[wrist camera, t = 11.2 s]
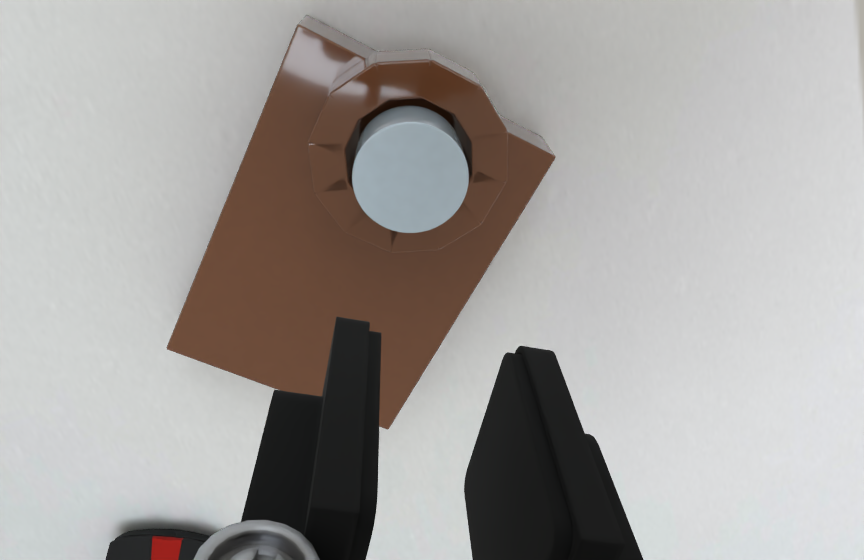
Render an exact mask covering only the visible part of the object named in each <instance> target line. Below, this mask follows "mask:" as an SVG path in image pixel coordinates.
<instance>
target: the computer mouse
mask: <svg viewBox="0 0 864 560" xmlns="http://www.w3.org/2000/svg"><path fill="white" fill-rule="evenodd" d="M210 537H211V536H207V535H202V534H198V533H194V532H188V531H182V530H173V529H148V530H136V531H129V532H127V533H124V534H122V535H120V536H119V537H117V538H116V539H115V540H114V541H112V542H111V543H110V545H109V549H108V553H107V556H106V560H194V558H195V556H196V554H197V552H198V549H199V548H200V547H201V546H202V545H203V544H204V543H205V542H206V541H207V540H208V539H209V538H210Z"/></svg>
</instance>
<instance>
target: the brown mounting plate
mask: <svg viewBox="0 0 864 560" xmlns="http://www.w3.org/2000/svg"><path fill="white" fill-rule="evenodd" d="M398 106H420V107H424V108H427V109H430V110H432V111H434V112H436V113H438V114H439V115H441V116H442V117H443V118H445V119H446V120H447V121H448V122H449V123H450V124H451V125H452V127H453V128H454V129H455V131H456V133H457V135H458V136H459V139H460V142H461V145H462V148H463V151H464V154H465V158H466V161H467V165H468V171H469V184H468V189H467V193H466V196H465V198H464V200H463V202H462V204H461V206H460V207H459V209H458V210H457V211H456V213H455V214H454V215H453V216H452V217H451V218H450V219H448V220H447V221H446V222H444V223H443V224H441V225H439V226H438V227H436V228H433V229H431V230H428V231H424V232H418V233H403V232H397V231H393V230H390V229H387V228H385V227H383V226H381V225H379V224H378V223H376V222H375V221H373V220H372V219H371V218H370V217H369V216H368V215H367V214H366V213H365V212H364V211H363V209H362V208H361V206H360V205H359V203H358V201H357V199H356V197H355V194H354V190H353V185H352V170H353V163H354V157H355V150H356V146H357V142H358V139H359V137H360V135H361V133H362V131H363V130H364V128H365V127H366V126H367V124H368V123H369V122H370V121H371V120H372V119H373V118H375V117H376V116H377V115H379V114H380V113H382V112H384V111H386V110H389V109H391V108H395V107H398ZM554 159H555V155H554V154H553V152H552V151H551V149H550V148H549V146H548V145H547V143H546V142H545V140H544V139H543V138H542V137H541V136H539V135H537V134H535V133H533V132H531V131H530V130H528V129H526V128H524V127H522V126H520V125H518V124H516V123H514V122H512V121H510V120H508V119H507V118H505V117H503V116H501V115H499V113H498V112H497V110H496V108H495V107H494V105H493V103H492V102H491V100H490V98H489V97H488V95H487V93H486V92H485V90H484V88H483V87H482V85H481V83H480V81H479V80H478V78H477V76H476V75H475V74H474V73H473V72H472V71H470V70H468V69H466V68H464V67H462V66H461V65H459V64H457V63H455V62H453V61H451V60H449V59H447V58H446V57H444V56H442V55H440V54H438V53H436V52H434V51H432V50H431V49H429V50H428V49H413V50H395V51H379V52H378V51H376V50H374V49H372V48H370V47H368V46H366V45H364V44H362V43H360V42H358V41H357V40H355V39H353V38H351V37H349V36H347V35H345V34H343V33H341V32H339V31H337V30H335V29H333V28H332V27H330V26H328V25H326V24H324V23H322V22H320V21H318V20H316V19H314V18H312V17H310V16H308V15H306V16H305V17H304V18H303V19H302V20H301V21H300V23H299V24H298V25H297V27H296V29H295V32H294V34H293V36H292V39H291V41H290V44H289V46H288V49H287V51H286V54H285V56H284V59H283V61H282V64H281V66H280V69H279V71H278V74H277V76H276V78H275V81H274V83H273V86H272V88H271V91H270V93H269V96H268V98H267V101H266V103H265V106H264V108H263V111H262V113H261V116H260V118H259V120H258V123H257V125H256V128H255V130H254V133H253V135H252V138H251V140H250V143H249V145H248V148H247V150H246V153H245V155H244V158H243V160H242V162H241V165H240V167H239V170H238V172H237V175H236V177H235V180H234V182H233V185H232V187H231V190H230V192H229V195H228V197H227V200H226V202H225V204H224V207H223V209H222V212H221V214H220V217H219V219H218V222H217V224H216V227H215V229H214V232H213V234H212V237H211V239H210V241H209V244H208V246H207V249H206V251H205V254H204V256H203V259H202V261H201V264H200V266H199V269H198V271H197V274H196V276H195V279H194V281H193V283H192V286H191V288H190V291H189V293H188V296H187V298H186V301H185V303H184V306H183V308H182V311H181V313H180V316H179V318H178V321H177V323H176V325H175V328H174V330H173V333H172V335H171V338H170V340H169V343H168V345H167V349H168V350H170V351H173V352H176V353H179V354H181V355H184V356H187V357H190V358H192V359H195V360H198V361H201V362H203V363H206V364H209V365H212V366H214V367H217V368H220V369H223V370H225V371H228V372H231V373H234V374H236V375H239V376H242V377H245V378H247V379H250V380H253V381H256V382H258V383H261V384H264V385H267V386H269V387H272V388H275V389H278V390H280V391H287V392H294V393H301V394H308V395H315V396H322V393H323V387H324V382H325V376H326V371H327V365H328V360H329V354H330V349H331V343H332V338H333V332H334V327H335V321H336V317H343V318H349V319H355V320H362V321H368V322H370V329H369V331H374V332H381V371H380V410H379V427H382V428H385V429H389V428H390V426H391V424H392V423H393V421H394V419H395V418H396V416H397V415H398V413H399V411H400V410H401V408H402V406H403V405H404V403H405V402H406V400H407V398H408V397H409V395H410V393H411V392H412V390H413V389H414V387H415V385H416V384H417V382H418V380H419V379H420V377H421V376H422V374H423V372H424V371H425V369H426V367H427V366H428V364H429V363H430V361H431V359H432V358H433V356H434V354H435V353H436V351H437V350H438V348H439V346H440V345H441V343H442V341H443V340H444V338H445V337H446V335H447V333H448V332H449V330H450V328H451V327H452V325H453V324H454V322H455V320H456V319H457V317H458V315H459V314H460V312H461V311H462V309H463V307H464V306H465V304H466V302H467V301H468V299H469V298H470V296H471V294H472V293H473V291H474V289H475V288H476V286H477V285H478V283H479V281H480V280H481V278H482V276H483V275H484V273H485V272H486V270H487V268H488V267H489V265H490V263H491V262H492V260H493V259H494V257H495V255H496V254H497V252H498V250H499V249H500V247H501V246H502V244H503V242H504V241H505V239H506V237H507V236H508V234H509V233H510V231H511V229H512V228H513V226H514V224H515V223H516V221H517V220H518V218H519V216H520V215H521V213H522V211H523V210H524V208H525V207H526V205H527V203H528V202H529V200H530V198H531V197H532V195H533V194H534V192H535V190H536V189H537V187H538V185H539V184H540V182H541V181H542V179H543V177H544V176H545V174H546V172H547V171H548V169H549V168H550V166H551V164H552V163H553V161H554Z"/></svg>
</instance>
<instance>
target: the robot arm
mask: <svg viewBox="0 0 864 560" xmlns="http://www.w3.org/2000/svg"><path fill="white" fill-rule="evenodd" d="M369 329H370V322H368V321H362V320H355V319H349V318H343V317H336V321H335V327H334V332H333V338H332V343H331V349H330V354H329V360H328V365H327V371H326V376H325V382H324V387H323V393H322V396H315V395H308V394H301V393H294V392H287V391H280V390H274V393H273V396H272V400H271V404H270V408H269V412H268V416H267V420H266V424H265V428H264V432H263V436H262V440H261V444H260V448H259V452H258V456H257V460H256V464H255V468H254V472H253V476H252V480H251V484H250V488H249V492H248V496H247V500H246V504H245V508H244V512H243V516H242V520H241V522H240V523H236V524H232V525H229V526H227V527H225V528H223V529H222V530H220V531H218V532H216V533H215V534H213V535H212V536H211V537H210V538H209V539H208V540H207V541H206V542H205V543H204V544H203V545H202V546H201V547H200V548H199V549H198V552H197V554H196V556H195V558H194V560H365V559H366V555H367V551H368V547H369V543H370V539H371V535H372V531H373V526H374V520H375V514H376V505H377V488H378V449H379V410H380V371H381V332H374V331H369ZM464 492H465V501H466V509H467V517H468V525H469V533H470V541H471V549H472V557H473V560H643V558H642V555H641V553H640V550H639V547H638V545H637V542H636V540H635V537H634V535H633V532H632V529H631V527H630V524H629V522H628V519H627V517H626V514H625V512H624V509H623V506H622V504H621V501H620V499H619V496H618V494H617V491H616V488H615V486H614V483H613V481H612V478H611V476H610V473H609V471H608V468H607V465H606V463H605V460H604V458H603V455H602V453H601V450H600V447H599V445H598V443H597V441H596V439H595V438H594V437H593V436H591V435H590V434H585V433H584V431H583V428H582V425H581V423H580V420H579V417H578V415H577V412H576V409H575V407H574V404H573V401H572V398H571V396H570V393H569V390H568V388H567V385H566V382H565V380H564V377H563V374H562V372H561V369H560V366H559V363H558V361H557V358H556V355H555V354H554V352H553V351H550V350H544V349H537V348H531V347H525V346H520V347H518V348H517V350H516V352H515V354H514V353H508V352H507V353H506V354H505V355H504V357H503V360H502V363H501V366H500V369H499V372H498V375H497V378H496V381H495V385H494V388H493V391H492V394H491V397H490V400H489V403H488V406H487V409H486V413H485V416H484V419H483V422H482V425H481V428H480V431H479V434H478V437H477V440H476V444H475V447H474V450H473V453H472V456H471V459H470V462H469V465H468V468H467V472H466V477H465V485H464Z"/></svg>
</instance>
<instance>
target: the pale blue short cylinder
mask: <svg viewBox="0 0 864 560" xmlns="http://www.w3.org/2000/svg"><path fill="white" fill-rule="evenodd" d="M468 184H469V171H468V165H467V161H466V158H465V154H464V151H463V148H462V145H461V142H460V139H459V136H458V135H457V133H456V131H455V129H454V128H453V127H452V125H451V124H450V123H449V122H448V121H447V120H446V119H445V118H443V117H442V116H441V115H439V114H438V113H436V112H434V111H432V110H430V109H427V108H424V107H420V106H398V107H395V108H391V109H389V110H386V111H384V112H382V113H380V114H379V115H377V116H376V117H375V118H373V119H372V120H371V121H370V122H369V123H368V124H367V126H366V127H365V128H364V130H363V131H362V133H361V135H360V137H359V139H358V142H357V146H356V150H355V157H354V163H353V170H352V185H353V190H354V194H355V197H356V199H357V201H358V203H359V205H360V206H361V208H362V209H363V211H364V212H365V213H366V214H367V215H368V216H369V217H370V218H371V219H372V220H373V221H375V222H376V223H378V224H379V225H381V226H383V227H385V228H387V229H390V230H393V231H397V232H403V233H418V232H424V231H428V230H431V229H433V228H436V227H438V226H439V225H441V224H443V223H444V222H446V221H447V220H448V219H450V218H451V217H452V216H453V215H454V214H455V213H456V211H457V210H458V209H459V207H460V206H461V204H462V202H463V200H464V198H465V196H466V193H467V189H468Z"/></svg>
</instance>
